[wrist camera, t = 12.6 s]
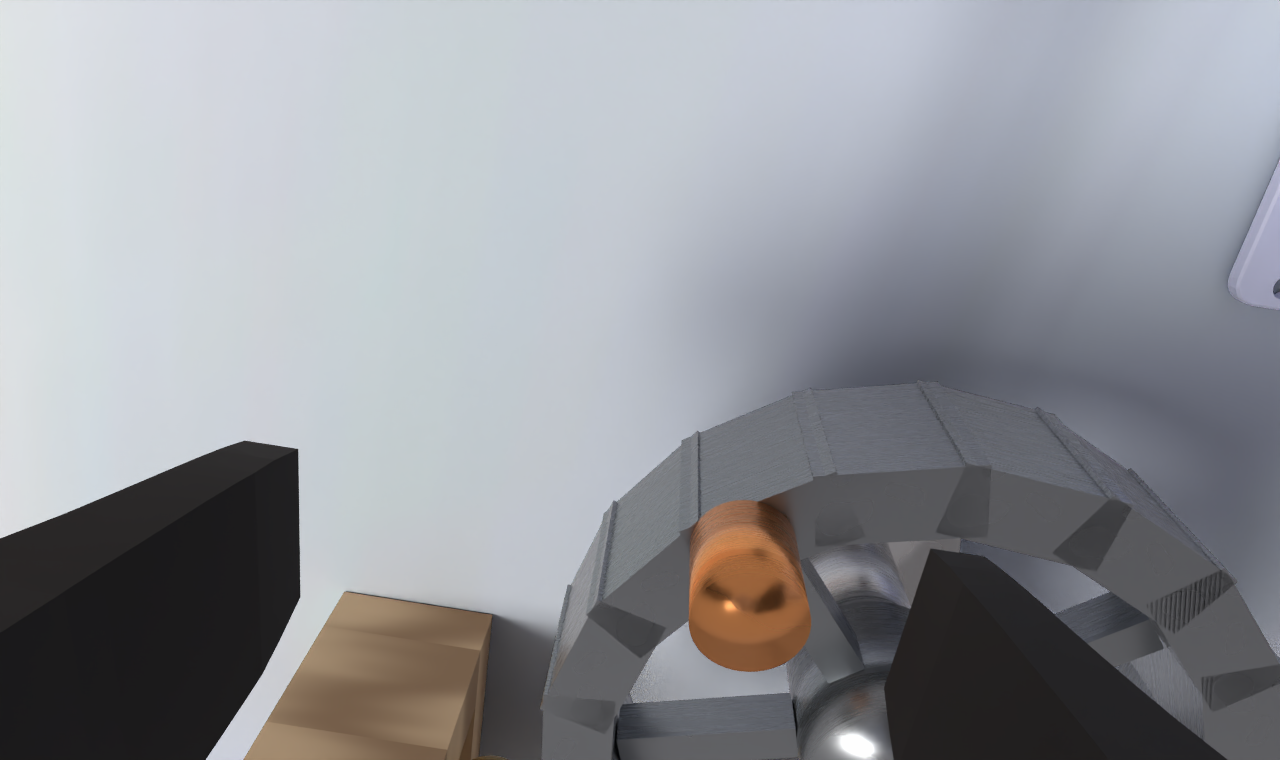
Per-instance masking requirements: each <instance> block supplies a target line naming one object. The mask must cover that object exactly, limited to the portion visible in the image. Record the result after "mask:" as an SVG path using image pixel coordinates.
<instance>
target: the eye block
mask: <svg viewBox="0 0 1280 760" xmlns="http://www.w3.org/2000/svg"><path fill="white" fill-rule="evenodd" d="M491 625H492V615H490V614H484V613H477V612H471V611H464V610H458V609H452V608H445V607H439V606H432V605H426V604H420V603H413V602H407V601H400V600H394V599H388V598H381V597H375V596H368V595H362V594H356V593H349V592H344V593H343V595H342V597H341V598H340V600H339V602H338V603H337V605H336V607H335V608H334V610H333V612H332V613H331V615H330V617H329V618H328V620H327V622H326V623H325V625H324V627H323V628H322V630H321V632H320V633H319V635H318V636H317V638H316V640H315V641H314V643H313V645H312V646H311V648H310V650H309V651H308V653H307V655H306V656H305V658H304V660H303V661H302V663H301V665H300V666H299V668H298V670H297V671H296V673H295V675H294V676H293V678H292V680H291V681H290V683H289V685H288V686H287V688H286V690H285V691H284V693H283V695H282V696H281V698H280V700H279V701H278V703H277V705H276V706H275V708H274V710H273V711H272V713H271V715H270V716H269V718H268V720H267V721H266V723H265V725H264V726H263V728H262V730H261V731H260V733H259V735H258V736H257V738H256V740H255V741H254V743H253V745H252V746H251V748H250V750H249V751H248V753H247V755H246V756H245V758H244V760H472V759H474V758H477V757H479V751H480V740H481V730H482V719H483V709H484V698H485V688H486V677H487V667H488V656H489V646H490V635H491Z"/></svg>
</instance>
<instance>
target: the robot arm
mask: <svg viewBox="0 0 1280 760" xmlns="http://www.w3.org/2000/svg"><path fill="white" fill-rule="evenodd" d="M1279 279H1280V160H1279V162H1278V164H1277V167H1276V169H1275V171H1274V174H1273V176H1272V178H1271V180H1270V183H1269V185H1268V187H1267V190H1266V192H1265V194H1264V197H1263V199H1262V201H1261V204H1260V206H1259V208H1258V210H1257V213H1256V215H1255V217H1254V220H1253V222H1252V224H1251V227H1250V229H1249V231H1248V234H1247V236H1246V238H1245V240H1244V243H1243V245H1242V247H1241V250H1240V252H1239V254H1238V257H1237V259H1236V261H1235V264H1234V266H1233V268H1232V270H1231V273H1230V275H1229V279H1228V289H1229V292H1230V294H1231V295H1232V296H1233V297H1234V298H1235V299H1237V300H1239V301H1241V302H1243V303H1245V304H1248V305H1250V306H1255V307H1262V308H1268V309H1274V310H1280V292H1278V293H1276V294H1273V287H1274V285H1275V283H1276V282H1277V281H1278V280H1279ZM299 598H300V546H299V476H298V449H294V448H288V447H281V446H275V445H269V444H262V443H256V442H250V441H243V442H239V443H236V444H233V445H230V446H227V447H224V448H221V449H219V450H216V451H214V452H211V453H208V454H206V455H203V456H201V457H199V458H196V459H194V460H191V461H189V462H186V463H184V464H182V465H179V466H177V467H174V468H172V469H170V470H167V471H165V472H163V473H160V474H158V475H156V476H153V477H151V478H149V479H146V480H144V481H142V482H139V483H137V484H134V485H132V486H130V487H127V488H125V489H123V490H120V491H118V492H115V493H113V494H111V495H108V496H106V497H104V498H101V499H99V500H96V501H94V502H92V503H89V504H87V505H85V506H82V507H80V508H77V509H75V510H73V511H70V512H68V513H65V514H63V515H60V516H58V517H55V518H53V519H50V520H47V521H45V522H42V523H40V524H37V525H34V526H32V527H29V528H27V529H24V530H21V531H19V532H16V533H13V534H11V535H8V536H6V537H3V538H0V760H206V758H207V757H208V755H209V754H210V752H211V751H212V749H213V748H214V746H215V745H216V743H217V742H218V740H219V739H220V738H221V736H222V735H223V733H224V731H225V730H226V728H227V727H228V725H229V724H230V722H231V721H232V719H233V718H234V716H235V715H236V713H237V712H238V710H239V709H240V707H241V706H242V704H243V703H244V701H245V700H246V698H247V697H248V695H249V694H250V692H251V691H252V689H253V688H254V686H255V684H256V683H257V681H258V680H259V678H260V677H261V675H262V674H263V672H264V670H265V668H266V666H267V664H268V662H269V660H270V658H271V656H272V654H273V652H274V650H275V648H276V646H277V644H278V642H279V640H280V638H281V636H282V634H283V632H284V630H285V628H286V626H287V624H288V622H289V619H290V617H291V615H292V613H293V611H294V609H295V607H296V605H297V603H298V601H299ZM884 693H885V701H886V709H887V717H888V725H889V733H890V739H891V746H892V752H893V759H894V760H1227V759H1226V758H1225V757H1224V756H1222V755H1221V754H1220V753H1219V752H1217V751H1216V750H1215V749H1214V748H1212V747H1211V746H1210V745H1208V744H1207V743H1206V742H1205V741H1203V740H1202V739H1201V738H1200V737H1198V736H1197V735H1196V734H1195V733H1193V732H1192V731H1191V730H1189V729H1188V728H1187V727H1186V726H1184V725H1183V724H1182V723H1181V722H1179V721H1178V720H1177V719H1176V718H1174V717H1173V716H1172V715H1171V714H1170V713H1168V712H1167V711H1166V710H1165V709H1163V708H1162V707H1161V706H1160V705H1159V704H1157V703H1156V702H1155V701H1154V700H1153V699H1151V698H1150V697H1149V696H1148V695H1147V694H1145V693H1144V692H1143V691H1142V690H1141V689H1139V688H1138V687H1137V686H1136V685H1135V684H1134V683H1132V682H1131V681H1130V680H1129V679H1128V678H1126V677H1125V676H1124V675H1123V674H1122V673H1121V672H1119V671H1118V670H1117V669H1116V668H1115V667H1114V666H1113V665H1111V664H1110V663H1109V662H1108V661H1107V660H1106V659H1104V658H1103V657H1102V656H1101V655H1100V654H1099V653H1097V652H1096V651H1095V650H1094V649H1093V648H1092V647H1091V646H1089V645H1088V644H1087V643H1086V642H1085V641H1084V640H1083V639H1082V638H1080V637H1079V636H1078V635H1077V634H1076V633H1075V632H1074V631H1072V630H1071V629H1070V628H1069V627H1068V626H1067V625H1066V624H1064V623H1063V622H1062V621H1061V620H1060V619H1059V618H1058V617H1056V616H1055V615H1054V614H1053V613H1052V612H1051V611H1050V610H1049V609H1047V608H1046V607H1045V606H1044V605H1043V604H1042V603H1041V602H1039V601H1038V600H1037V599H1036V598H1035V597H1034V596H1032V595H1031V594H1030V593H1029V592H1028V591H1027V590H1026V589H1024V588H1023V587H1022V586H1021V585H1020V584H1019V583H1017V582H1016V581H1015V580H1014V579H1013V578H1011V577H1010V576H1009V575H1008V574H1006V573H1005V572H1004V571H1003V570H1001V569H1000V568H999V567H998V566H996V565H995V564H994V563H992V562H991V561H989V560H988V559H987V558H985V557H983V556H977V555H970V554H964V553H957V552H951V551H945V550H938V549H932V548H930V551H929V554H928V557H927V560H926V563H925V566H924V569H923V572H922V575H921V578H920V581H919V584H918V587H917V590H916V593H915V596H914V599H913V602H912V605H911V608H910V611H909V614H908V617H907V620H906V623H905V626H904V629H903V632H902V635H901V638H900V641H899V644H898V647H897V650H896V653H895V656H894V659H893V662H892V665H891V668H890V671H889V674H888V677H887V680H886V683H885V686H884Z"/></svg>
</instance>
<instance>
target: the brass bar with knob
mask: <svg viewBox="0 0 1280 760" xmlns="http://www.w3.org/2000/svg"><path fill="white" fill-rule="evenodd" d="M472 760H509V759H506V758H503V757H500V756H493V755H487V756H481V757H477V758H474V759H472Z"/></svg>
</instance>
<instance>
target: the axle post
mask: <svg viewBox="0 0 1280 760" xmlns="http://www.w3.org/2000/svg"><path fill="white" fill-rule="evenodd" d="M960 543H961V538H959V539H941V540H923V541H906V542H888V543H870V544H853V545H841V546H838V547H835V548H832V549H830V550H827V551H824V552H821V553H818V554H816V555H813V556H810V557H808V558H809V559H810V561H811V563H812V564H813V566H814V567H815V569H816V571H817V572H818V574H819V576H820V577H821V579H822V580H823V582H824V584H825V585H826V587H827V588H828V590H829V592H830V593H831V595H832V596H833V598H834V600H835V601H836V603H837V604H838V606H842V605H846V604H851V603H856V602H865V601H878V602H888V603H893V604H898V605H901V606H904V607H907V608H909V609H910V608H911V605H912V602H913V599H914V596H915V593H916V590H917V587H918V584H919V581H920V578H921V575H922V572H923V569H924V566H925V563H926V560H927V557H928V554H929V551H930V548H932V549H938V550H945V551H951V552H957V553H959V551H960Z"/></svg>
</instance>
